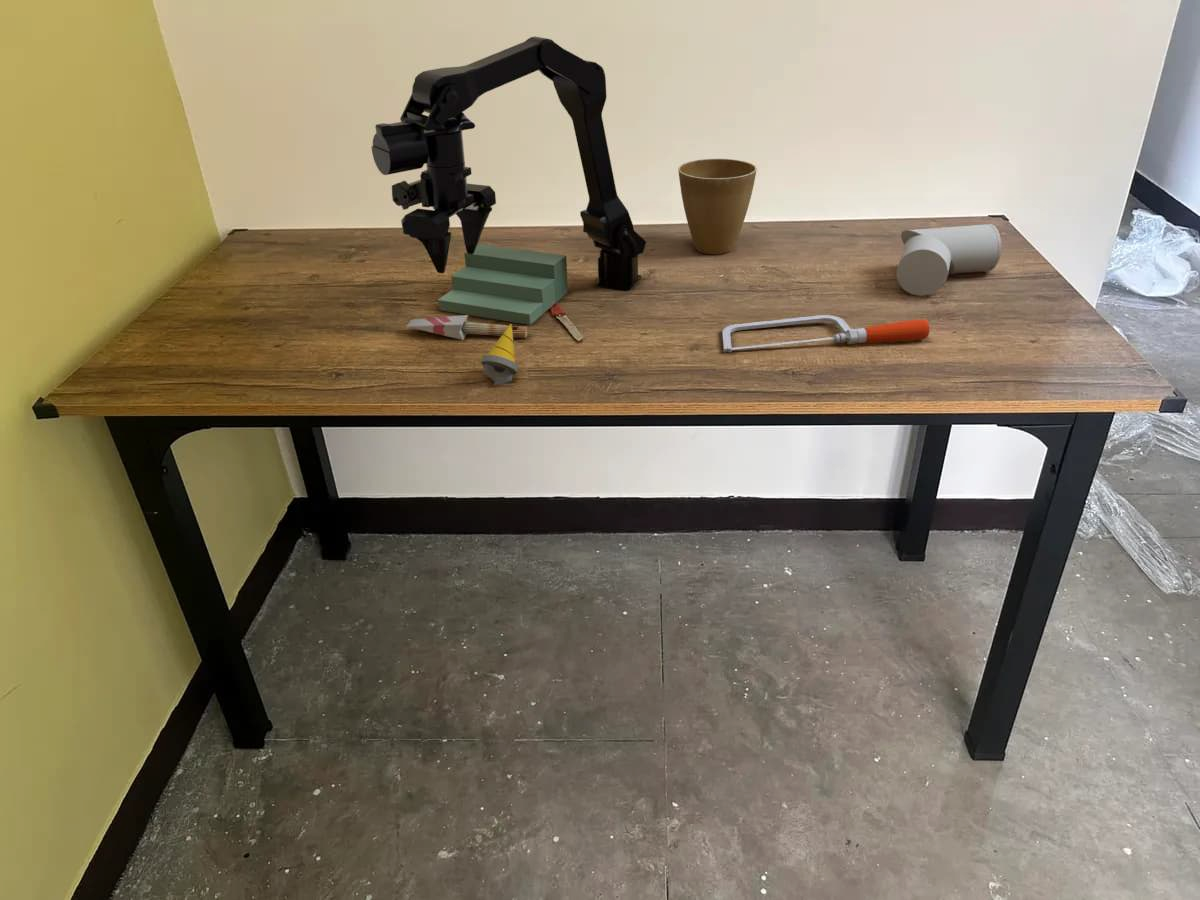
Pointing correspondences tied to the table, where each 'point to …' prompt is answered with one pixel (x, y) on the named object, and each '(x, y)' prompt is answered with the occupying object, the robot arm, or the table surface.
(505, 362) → the yellow cone with collar
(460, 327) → the paintbrush
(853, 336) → the hand saw
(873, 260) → the table surface
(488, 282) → the staircase
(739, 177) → the plant pot
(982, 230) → the l-shaped cylinder
